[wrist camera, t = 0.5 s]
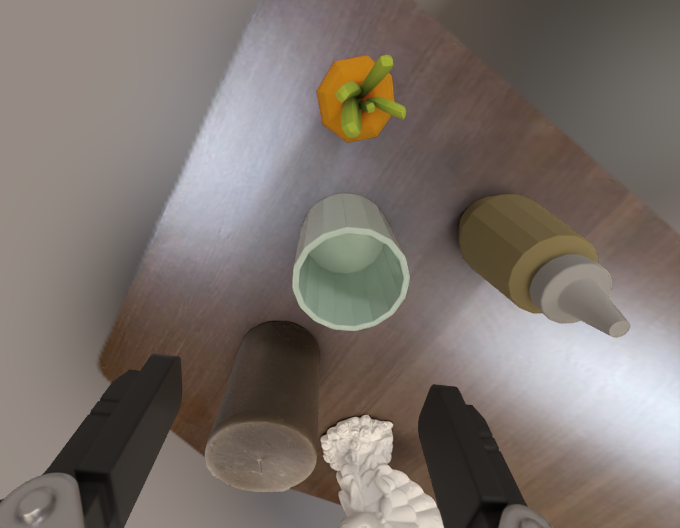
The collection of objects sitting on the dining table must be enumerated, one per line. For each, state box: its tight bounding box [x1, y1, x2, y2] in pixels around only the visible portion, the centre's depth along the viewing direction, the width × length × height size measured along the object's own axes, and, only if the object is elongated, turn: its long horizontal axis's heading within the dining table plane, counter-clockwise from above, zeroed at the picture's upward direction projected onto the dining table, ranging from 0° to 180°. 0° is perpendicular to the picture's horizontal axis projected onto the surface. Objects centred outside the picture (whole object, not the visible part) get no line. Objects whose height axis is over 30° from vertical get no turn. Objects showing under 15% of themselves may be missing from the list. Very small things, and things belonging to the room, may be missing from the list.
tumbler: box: [292, 193, 410, 331], centre depth 31 cm, size 9×9×10 cm
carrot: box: [316, 55, 406, 143], centre depth 23 cm, size 5×5×15 cm
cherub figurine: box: [321, 415, 444, 528], centre depth 40 cm, size 13×12×20 cm
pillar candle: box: [205, 321, 320, 492], centre depth 35 cm, size 10×10×15 cm
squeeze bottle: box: [458, 194, 630, 337], centre depth 27 cm, size 8×8×18 cm
